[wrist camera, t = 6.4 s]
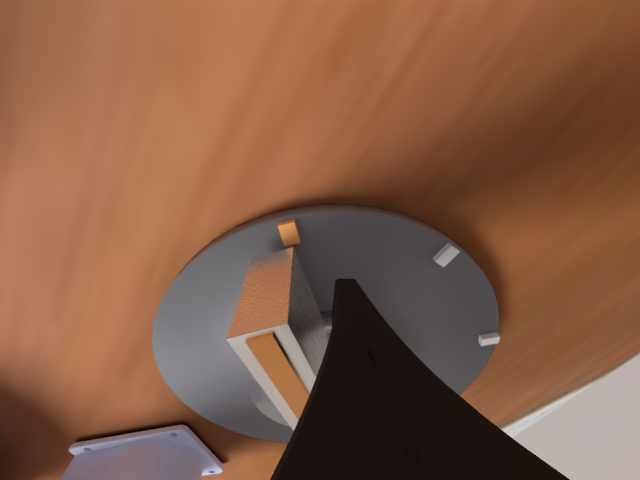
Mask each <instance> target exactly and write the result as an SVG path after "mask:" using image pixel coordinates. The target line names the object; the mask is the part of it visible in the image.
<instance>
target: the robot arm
mask: <svg viewBox="0 0 640 480" xmlns="http://www.w3.org/2000/svg"><path fill="white" fill-rule="evenodd" d="M331 317H332V329H331V333H330V336H329V340H328V344H327V347H326V351H325V354H324V357H323V360H322V363H321V366H320V369H319V372H318V374H317V377H316V379H315V382H314V385H313V387H312V390H311V393H310V395H309V398H308V400H307V402H306V405H305V407H304V409H303V412H302V414H301V416H300V418H299V420H298V423H297V425H296V427H295V429H294V432H293V434H292V436H291V438H290V441H289V443H288V445H287V447H286V449H285V451H284V453H283V455H282V457H281V459H280V461H279V463H278V465H277V467H276V469H275V471H274V473H273V475H272V477H271V479H270V480H569V479H568V478H567V477H565V476H564V475H562V474H561V473H560V472H558V471H557V470H555V469H554V468H553V467H551V466H550V465H548V464H547V463H546V462H544V461H543V460H541V459H540V458H539V457H537V456H536V455H534V454H533V453H532V452H530V451H529V450H527V449H526V448H524V447H523V446H522V445H520V444H519V443H518V442H516V441H515V440H514V439H512V438H511V437H510V436H508V435H507V434H506V433H505V432H503V431H502V430H501V429H499V428H498V427H497V426H496V425H494V424H493V423H492V422H490V421H489V420H488V419H487V418H485V417H484V416H483V415H482V414H480V413H479V412H478V411H477V410H476V409H474V408H473V407H472V406H471V405H470V404H468V403H467V402H466V401H465V400H464V399H463V398H462V397H460V396H459V395H458V394H457V393H456V392H455V391H453V390H452V389H451V388H450V387H449V386H448V385H446V384H445V383H444V382H443V381H442V380H441V379H440V378H439V377H438V376H437V375H436V374H434V373H433V372H432V371H431V370H430V369H429V368H428V367H427V366H426V365H425V364H424V363H423V362H422V361H421V360H420V359H419V358H418V357H417V356H416V355H415V354H414V353H413V352H412V350H411V349H410V348H409V347H408V346H407V345H406V344H405V343H404V342H403V341H402V339H401V338H400V337H399V336H398V335H397V334H396V333H395V331H394V330H393V329H392V328H391V327H390V325H389V324H388V323H387V322H386V320H385V319H384V318H383V317H382V315H381V314H380V313H379V312H378V310H377V309H376V308H375V306H374V305H373V304H372V302H371V301H370V299H369V298H368V297H367V295H366V294H365V292H364V291H363V289H362V288H361V286H360V285H359V283H358V282H357V281H356V280H355V279H340V278H339V279H337V280H336V281H335V289H334V298H333V306H332V315H331ZM68 450H69V452H70V453H72V454H73V455H75V456H74V458H73V459H72V461H71V462H70V464H69V466H68V467H67V469H66V470H65V472H64V473H63V475H62V477H61V478H60V480H201V476H204V475H210V474H217V473H221V472H223V469H224V465H223V464H222V463H221V462H220V461H219V460H218V458H217V457H216V456H215V455H214V454H213V453H212V452H211V451H210V450H209V449H208V448H207V447H206V446H205V445H204V444H203V442H202V441H201V440H200V439H199V438H198V437H197V436H196V435H195V434H194V433H193V432H192V431H191V430H190V429H189V428H188V427H187V426H186V425H175V426H169V427H164V428H158V429H152V430H146V431H140V432H134V433H129V434H123V435H117V436H111V437H105V438H99V439H94V440H88V441H82V442H76V443H73V444H72V445H71V446H70V448H69V449H68Z"/></svg>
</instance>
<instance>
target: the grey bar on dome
mask: <svg viewBox="0 0 640 480" xmlns="http://www.w3.org/2000/svg"><path fill="white" fill-rule="evenodd" d="M331 315H332V311H323V312H320V310H319V308H318V305H317V303H316V301H315V298H314V296H313V293H312V291H311V289H310V286H309V284H308V281H307V279H306V277H305V274H304V272H303V269H302V267H301V265H300V262H299V260H298V258H297V255H296V253H295V250H294V248H293V247H291V248H288V249H284V250H281V251H277V252H274V253H270V254H267V255H264V256H260V257H257V258H253V259H252V260H251V263H250V266H249V269H248V272H247V276H246V279H245V282H244V285H243V288H242V291H241V294H240V298H239V301H238V304H237V307H236V310H235V313H234V316H233V320H232V323H231V326H230V329H229V332H228V335H227V338H226V340H227V341H228V342H229V344H230V345H231V346H232V348H233V349H234V351H235V352H236V353H237V355H238V356H239V357H240V359H241V360H242V361H243V363H244V364H245V366H246V367H247V368H248V370H249V371H250V372H251V374H252V375H251V380H250V395H251V398H252V400H253V402H254V404H255V405H256V407H257V408H258V409H259V410H260V411H261V412H262V413H263V414H264V415H266V416H267V417H269V418H270V419H272V420H274V421H276V422H278V423H280V424H283V425H286V426H289V427H291V428H292V430H293V431H294V429H295V427H296V425H297V423H298V420H299V418H300V416H301V414H302V412H303V409H304V407H305V405H306V402H307V400H308V398H309V395H310V393H311V390H312V387H313V385H314V382H315V379H316V377H317V374H318V372H319V369H320V366H321V363H322V360H323V357H324V354H325V351H326V347H327V344H328V340H329V336H330V333H331V329H332V317H331Z"/></svg>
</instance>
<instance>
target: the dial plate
mask: <svg viewBox="0 0 640 480" xmlns="http://www.w3.org/2000/svg"><path fill="white" fill-rule="evenodd" d="M291 247H293V248H294V250H295V253H296V255H297V258H298V260H299V262H300V265H301V267H302V269H303V272H304V274H305V277H306V279H307V281H308V284H309V286H310V289H311V291H312V293H313V296H314V298H315V301H316V303H317V305H318V308H319V310H320V312H323V311H332V306H333V298H334V289H335V281H336V280H337V279H339V278H340V279H355V280H356V281H357V282H358V283H359V285H360V286H361V288H362V289H363V291H364V292H365V294H366V295H367V297H368V298H369V299H370V301H371V302H372V304H373V305H374V306H375V308H376V309H377V310H378V312H379V313H380V314H381V315H382V317H383V318H384V319H385V320H386V322H387V323H388V324H389V325H390V327H391V328H392V329H393V330H394V331H395V333H396V334H397V335H398V336H399V337H400V338H401V339H402V341H403V342H404V343H405V344H406V345H407V346H408V347H409V348H410V349H411V350H412V352H413V353H414V354H415V355H416V356H417V357H418V358H419V359H420V360H421V361H422V362H423V363H424V364H425V365H426V366H427V367H428V368H429V369H430V370H431V371H432V372H433V373H434V374H436V375H437V376H438V377H439V378H440V379H441V380H442V381H443V382H444V383H445V384H446V385H448V386H449V387H450V388H451V389H452V390H453V391H455V392H456V393H457V394H458V395H460V394H461V393H462V392H463V391H464V390H465V389H466V388H467V387H468V386H469V385H470V384H471V383H472V382H473V381H474V380H475V378H476V377H477V376H478V375H479V374H480V372H481V371H482V369H483V368H484V366H485V365H486V363H487V361H488V359H489V357H490V355H491V353H492V351H493V349H494V346H495V344H497V343H499V339H500V336H499V334H498V329H499V309H498V303H497V299H496V296H495V293H494V290H493V287H492V286H491V284H490V282H489V280H488V278H487V277H486V275H485V273H484V272H483V271H482V269H481V268H480V267H479V266H478V265H477V264H476V262H475V261H474V260H473V259H472V258H471V257H470V256H469V255H468V254H467V253H466V252H465V251H464V250H463V249H462V248H461V247H460V246H459V245H457V244H456V243H455V242H454V241H452V240H451V239H450V238H449V237H447V236H446V235H445V234H444V233H442V232H440V231H438V230H437V229H435V228H433V227H431V226H430V225H428V224H426V223H424V222H422V221H420V220H417V219H414V218H412V217H409V216H406V215H404V214H401V213H398V212H393V211H389V210H385V209H380V208H376V207H369V206H359V205H349V204H333V205H312V206H306V207H299V208H292V209H286V210H283V211H279V212H276V213H272V214H269V215H265V216H261V217H258V218H256V219H254V220H251V221H249V222H247V223H244V224H242V225H240V226H237V227H235V228H233V229H231V230H230V231H228V232H226V233H225V234H223V235H221V236H220V237H218V238H216V239H215V240H213V241H212V242H210V243H209V244H208V245H207V246H206V247H204V248H203V249H202V250H201V251H199V252H198V253H197V254H196V255H195V256H194V257H193V258H192V259H191V260H190V261H189V262H188V263H187V265H186V266H185V267H184V268H183V269H182V270H181V271H180V273H179V274H178V275H177V277H176V278H175V280H174V281H173V283H172V284H171V285H170V287H169V289H168V290H167V292H166V294H165V295H164V297H163V299H162V300H161V302H160V305H159V307H158V310H157V313H156V316H155V319H154V324H153V332H152V344H153V354H154V357H155V360H156V364H157V367H158V369H159V371H160V373H161V375H162V377H163V379H164V381H165V382H166V384H167V385H168V386H169V388H170V389H171V390H172V392H173V393H174V394H175V395H176V396H177V397H178V398H179V399H180V400H181V401H182V402H183V403H184V404H185V405H187V406H188V407H189V408H191V409H192V410H193V411H195V412H196V413H197V414H199V415H201V416H202V417H204V418H206V419H207V420H209V421H211V422H213V423H215V424H217V425H219V426H221V427H223V428H226V429H228V430H231V431H234V432H236V433H239V434H243V435H246V436H250V437H253V438H258V439H263V440H268V441H273V442H281V443H289V441H290V438H291V436H292V434H293V432H294V431H293V430H292V428H291V427H289V426H286V425H283V424H280V423H278V422H276V421H274V420H272V419H270V418H269V417H267V416H266V415H264V414H263V413H262V412H261V411H260V410H259V409H258V408H257V407H256V405H255V404H254V402H253V400H252V398H251V395H250V380H251V375H252V374H251V372H250V371H249V370H248V368H247V367H246V366H245V364H244V363H243V361H242V360H241V359H240V357H239V356H238V355H237V353H236V352H235V351H234V349H233V348H232V346H231V345H230V344H229V342H228V341H227V340H226V338H227V335H228V332H229V329H230V326H231V323H232V320H233V316H234V313H235V310H236V307H237V304H238V301H239V298H240V294H241V291H242V288H243V285H244V282H245V279H246V276H247V272H248V269H249V266H250V263H251V260H252V259H253V258H257V257H260V256H264V255H267V254H270V253H274V252H277V251H281V250H284V249H288V248H291Z"/></svg>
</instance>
